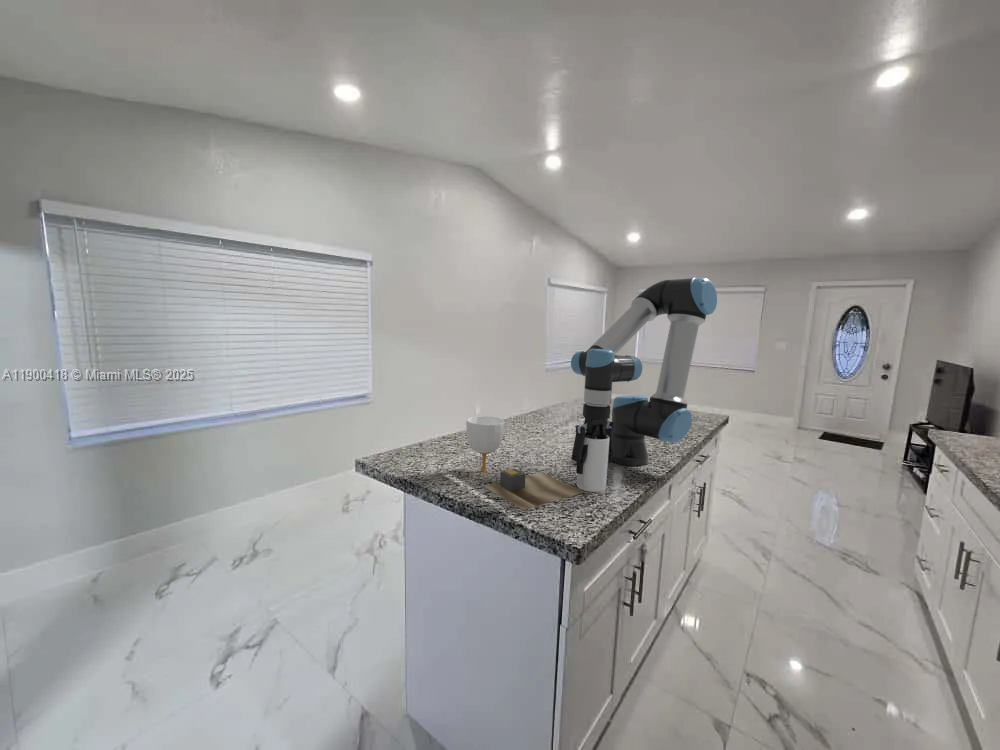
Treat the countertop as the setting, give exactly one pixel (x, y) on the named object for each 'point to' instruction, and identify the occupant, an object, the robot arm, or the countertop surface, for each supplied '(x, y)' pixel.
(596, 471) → the cup
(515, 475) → the dark grey box
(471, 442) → the cup
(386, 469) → the countertop surface
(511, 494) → the panel
